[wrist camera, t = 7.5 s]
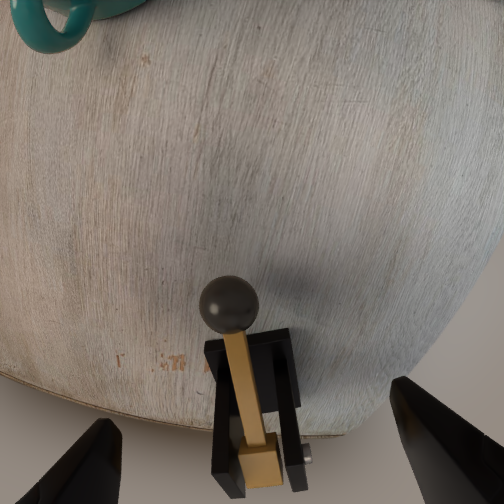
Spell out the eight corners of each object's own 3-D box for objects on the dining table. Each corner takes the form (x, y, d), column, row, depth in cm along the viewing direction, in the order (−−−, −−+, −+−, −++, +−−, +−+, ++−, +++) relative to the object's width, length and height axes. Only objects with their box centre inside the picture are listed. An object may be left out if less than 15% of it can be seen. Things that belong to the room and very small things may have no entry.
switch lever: (201, 280, 19) (187, 281, 16) (254, 270, 19) (250, 270, 15) (242, 466, 18) (238, 493, 15) (290, 460, 18) (292, 487, 14)
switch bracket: (204, 341, 22) (190, 460, 13) (288, 327, 22) (311, 447, 13) (230, 407, 25) (229, 507, 16) (299, 396, 25) (317, 496, 16)
